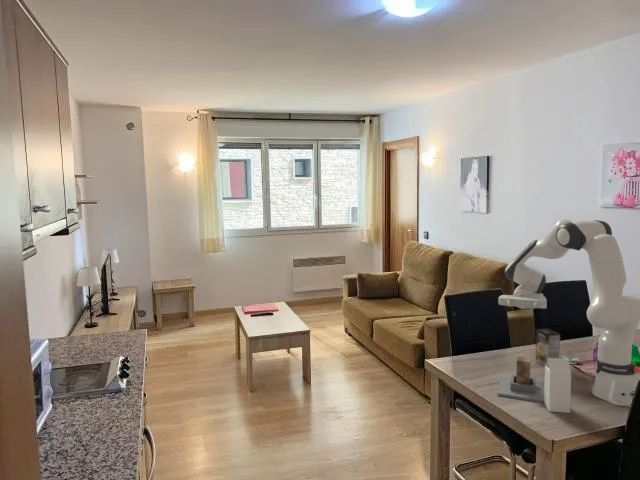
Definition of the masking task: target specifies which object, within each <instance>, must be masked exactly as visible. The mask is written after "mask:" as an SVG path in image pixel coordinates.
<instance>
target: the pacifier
mask: <svg viewBox="0 0 640 480" xmlns="http://www.w3.org/2000/svg"><path fill="white" fill-rule="evenodd" d="M574 353H575V352H574V350H573V349H572V348H567V350H566V354H567V356H566V355H564V354H561V355H560V357H561V359H569V365H577V361H578V360H579V359H580V358H577V357H575V358H573V355H574Z"/></svg>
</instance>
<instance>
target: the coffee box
mask: <svg viewBox="0 0 640 480" xmlns="http://www.w3.org/2000/svg"><path fill="white" fill-rule="evenodd" d="M560 345H561V333H559V332H557V331H555V330H553V329H551V328H548V327H547V328H546V327H545V328H539V329H538V328H537V329H536V331H535V355H534V356H535V358H534V359H535V360H534V361H535V363H536V364H538V365H540V366H542V367H543V368H545V365H546V363H547V361H548V358H549V359H560V349H561V347H560Z"/></svg>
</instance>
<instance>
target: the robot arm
mask: <svg viewBox="0 0 640 480" xmlns="http://www.w3.org/2000/svg"><path fill="white" fill-rule="evenodd" d="M570 250H575V251H581V250H585V251H586V252H587V255H588V259H589V265H590V270H591V277H592V284H593V287H592V295H591V296H592V297H591V302H590V304H589V305H588V307H587V310H586V318H587V320H588V322H589V323H590V325H591V326H594V328H597V329H603V331H602V333H601V335H600V336H599V337H598V340H597V341H598V342H597V345H598V346H597V357H596V359H595V372H596V373H595V379H594V383H593V386H592V388H591V393H592V394H593V395H594V396H595V397H597V398H598V399H600V400H601V399H602V400H604V401H606V402H608V403H609V404H612V405H614V406H622V407H624V406H625V407H631V406H630V404H631V401H632V398H633V395H634V392H635V388H636V386H637V383H638V381H639V380H640V374H639V373H640V367H638V365H637V364H636V363H635V362H634V361H632V351H633V350H632V349H633V342H634V338H635V335H636V332H637V330H638V327H639V324H640V299H639V298H638V297H636V296H630V295H623V290H624V287H625V285H626V283H627V274H626V271H625V264H624V260H623V255H622V252H621V250H620V246H619V243H618V242H617V240H616V238H615V237H614V236H613V231H612V228H611V226H610V224H609V223H608V222H606V221H603V220H599V219H597V220H578V221H572V220H570V219H560V220H558V221H557V222H555V223H554V225H553V226H552V227H551V228H550V229H549V230H548V231H547V233H546V235H545V236H544V237H542V238H541V239H537V240H536V239H535V240H533V241H532V242H530V243H528V245H526V247H525V248H524V249H523V250H522V251H521V252H520V253H519V254H518V255H517V256H516V257H515V258H514V259H513V260H512V261H511V262H510V263H508V264H507V266H506V267H505V270H504V274H505V277H506V279H507V280H509V281H512V282H515V283H516V284H519V285H518V286H517V287H516V288H515V289H514V292H513V294H502V295H500V296H498V299H497V300H498V301H497V303H498V305H499V306H507V307H516V308H518V309H522V310H524V309H530V308H531V309H547V308H548V307H547V305H548V304H547V302H548V300H547V298H546V296H544V294H543V293H542V291H543V289H544V287H545V285H546V282H547V278H546V275H545V273H543V272H541V271H539V270H537V269H535V268H533V267H530V266H529V265H527V264H525V263H526V262H527V261H528V259H530V258H533V257H538V258H543V259H547V260H557V259H561V258H563V257H564V256H565V255H566V254H567V253H568V252H569V251H570Z"/></svg>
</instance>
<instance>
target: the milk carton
mask: <svg viewBox="0 0 640 480" xmlns="http://www.w3.org/2000/svg"><path fill="white" fill-rule="evenodd" d="M544 382H545V384H544V405H545V407H546V408H547V410H548V412H552V413H565V414H566V413H568V414H569V413H571V393H572V392H571V391H572V390H571V388H572V371H571V366H570V364H569V359H562V358H559V359H549V358H548V361H547V363H546V365H545V367H544Z"/></svg>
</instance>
